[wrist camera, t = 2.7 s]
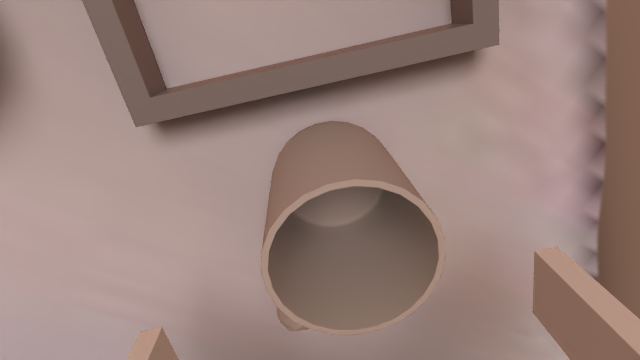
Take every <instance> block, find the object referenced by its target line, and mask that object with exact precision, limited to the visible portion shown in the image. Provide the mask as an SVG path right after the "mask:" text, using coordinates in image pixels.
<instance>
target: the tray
mask: <svg viewBox="0 0 640 360" xmlns="http://www.w3.org/2000/svg"><path fill="white" fill-rule="evenodd" d="M82 1H83V4H84V6H85V8H86V11H87V13H88V15H89V18H90V20H91V22H92V25H93V27H94V30H95V32H96V34H97V37H98V39H99V41H100V44H101V46H102V48H103V51H104V53H105V56H106V58H107V60H108V63H109V65H110V67H111V70H112V72H113V74H114V77H115V79H116V82H117V84H118V86H119V89H120V91H121V93H122V96H123V98H124V100H125V103H126V105H127V108H128V110H129V112H130V115H131V117H132V119H133V122H134V124H135V126H136V127H139V126H143V125H148V124H152V123H157V122H161V121H165V120H170V119H174V118H179V117H183V116H187V115H192V114H196V113H201V112H205V111H209V110H214V109H218V108H223V107H227V106H231V105H236V104H240V103H245V102H249V101H253V100H258V99H262V98H266V97H271V96H275V95H280V94H284V93H288V92H293V91H297V90H302V89H306V88H310V87H315V86H319V85H324V84H328V83H332V82H337V81H341V80H346V79H350V78H354V77H359V76H363V75H368V74H372V73H376V72H381V71H385V70H390V69H394V68H398V67H403V66H407V65H412V64H416V63H420V62H425V61H429V60H434V59H438V58H442V57H447V56H451V55H456V54H460V53H464V52H469V51H473V50H478V49H482V48H486V47H491V46H495V45H499V2H498V0H451V11H452V24H448V25H444V26H439V27H435V28H430V29H426V30H422V31H417V32H413V33H409V34H404V35H400V36H396V37H391V38H387V39H382V40H378V41H374V42H369V43H365V44H361V45H356V46H352V47H348V48H343V49H339V50H334V51H330V52H326V53H321V54H317V55H313V56H308V57H304V58H300V59H295V60H291V61H286V62H282V63H278V64H273V65H269V66H265V67H260V68H256V69H252V70H247V71H243V72H238V73H234V74H230V75H225V76H221V77H217V78H212V79H208V80H203V81H199V82H195V83H190V84H186V85H182V86H177V87H173V88H169V89H166V86H165V84H164V81H163V78H162V76H161V73H160V70H159V68H158V65H157V62H156V60H155V57H154V54H153V51H152V49H151V46H150V43H149V41H148V38H147V35H146V33H145V30H144V27H143V25H142V22H141V19H140V17H139V14H138V11H137V9H136V6H135V3H134V1H133V0H82Z"/></svg>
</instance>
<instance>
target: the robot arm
mask: <svg viewBox="0 0 640 360" xmlns="http://www.w3.org/2000/svg"><path fill="white" fill-rule="evenodd" d="M533 313H534V314H535V316H536V317H537V318H538V319H539V321H540V322H541V323H542V324H543V326H544V327H545V328H546V329H547V331H548V332H549V333H550V334H551V336H552V337H553V338H554V340H555V341H556V342H557V343H558V345H559V346H560V347H561V348H562V350H563V351H564V352H565V353H566V355H567V356H568V357H569V358H570V360H640V319H638V318H637V317H636V316H635V315H634V314H633V313H632V312H631V311H629V310H628V309H627V308H626V307H625V306H624V305H622V304H621V303H620V302H619V301H618V300H617V299H616V298H615V297H614V296H612V295H611V294H610V293H609V292H608V291H607V290H605V288H603V287H602V286H601V285H600V284H599V283H598V282H597V281H595V280H594V279H593V278H592V277H591V276H590V275H589V274H588V273H586V272H585V271H584V270H583V269H582V268H581V267H580V266H579V265H577V264H576V263H575V262H574V261H573V260H572V259H571V258H570V257H568V256H567V255H566V254H565V253H564V252H563V251H562V250H560V249H559V248H558V247H553V248H548V249H543V250H538V251H535V257H534V290H533ZM127 360H179V359H178V357H177V355H176V353H175V351H174V350H173V348H172V346H171V344H170V342H169V340H168V338H167V336H166V334H165V332H164V330H163V328H162V327H161V328H156V329H151V330H147V331H142V332H141V333H140V335H139V337H138V339H137V341H136V343H135V345H134V347H133V349H132V351H131V353H130V355H129V357H128V359H127Z"/></svg>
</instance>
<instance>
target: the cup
mask: <svg viewBox="0 0 640 360" xmlns="http://www.w3.org/2000/svg"><path fill="white" fill-rule="evenodd" d="M444 262H445V238H444V235H443V233H442V230H441V227H440V225H439V222H438V219H437V218H436V216H435V215H434V213H433V212H432V211H431V209H430V208H429V207H428V205H427V204H426V203H425V201H424V200H423V199H422V197H421V196H420V194H419V193H418V192H417V190H416V189H415V188H414V186H413V185H412V184H411V182H410V181H409V179H408V178H407V177H406V175H405V174H404V173H403V171H402V170H401V169H400V167H399V166H398V164H397V163H396V162H395V160H394V159H393V158H392V156H391V155H390V154H389V152H388V151H387V150H386V148H385V147H384V146H383V145H382V143H381V142H380V141H379V140H378V139H377V138H376V137H375V136H374V135H372V134H371V133H369V132H368V131H366V130H365V129H364V128H362V127H359V126H356V125H353V124H350V123H347V122H335V121H330V122H325V123H319V124H314V125H312V126H310V127H308V128H306V129H304V130H302V131H300V132H299V133H297V134H296V135H295V136H294V137H293V138H291V139H290V140H289V141H288V142H287V143H286V145H285V146H284V148H283V149H282V150H281V152H280V153H279V155H278V158H277V161H276V164H275V167H274V170H273V173H272V180H271V187H270V195H269V202H268V209H267V217H266V224H265V231H264V239H263V246H262V259H261V273H262V277H263V280H264V284H265V287H266V291H267V292H268V294H269V295H270V297H271V298H272V300H273V301H274V303H275V304H276V306H277V314H278V317H279V319H280V322H281V323H282V324H283V325H284V326H285V327H286V328H287V329H288V330H290V331H299V330H307V329H311V330H316V331H320V332H324V333H329V334H337V335H356V334H362V333H367V332H373V331H377V330H380V329H382V328H385V327H387V326H390V325H392V324H395V323H397V322H399V321H400V320H402V319H403V318H405V317H406V316H408V315H409V314H411V313H412V312H414V311H415V310H416V309H417V308H418V307H419V306H420V305H421V304H422V303H423V302H424V301H425V300H426V299H427V298H428V297H429V296H430V294H431V293H432V291H433V289H434V287H435V286H436V284H437V282H438V281H439V279H440V277H441V273H442V269H443V265H444Z"/></svg>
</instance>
